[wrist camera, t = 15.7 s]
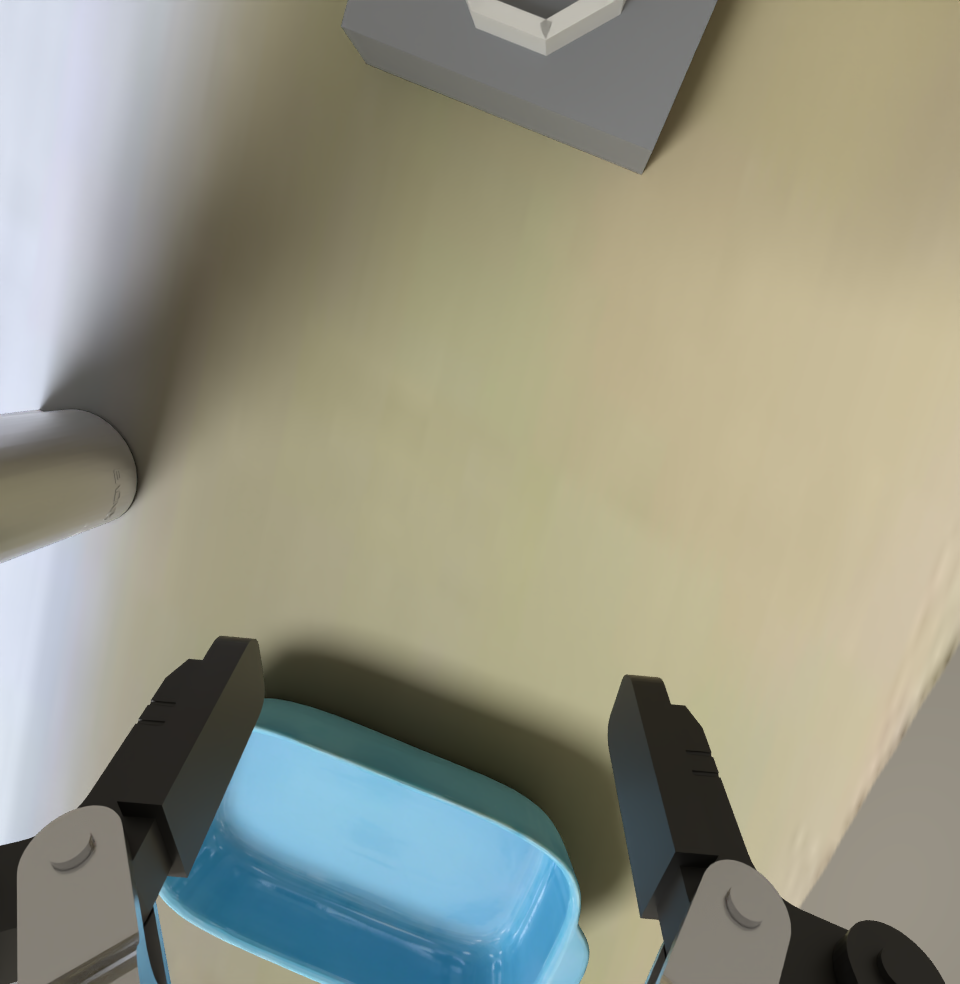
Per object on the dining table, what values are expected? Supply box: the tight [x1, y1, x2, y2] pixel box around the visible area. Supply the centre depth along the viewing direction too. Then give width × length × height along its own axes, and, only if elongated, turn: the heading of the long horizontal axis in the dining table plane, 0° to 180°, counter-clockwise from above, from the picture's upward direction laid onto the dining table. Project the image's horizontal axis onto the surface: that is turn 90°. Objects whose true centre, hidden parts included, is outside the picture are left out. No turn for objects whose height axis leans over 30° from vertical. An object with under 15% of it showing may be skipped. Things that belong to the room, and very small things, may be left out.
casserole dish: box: [159, 698, 589, 984], centre depth 45 cm, size 37×22×7 cm, turn 72°
